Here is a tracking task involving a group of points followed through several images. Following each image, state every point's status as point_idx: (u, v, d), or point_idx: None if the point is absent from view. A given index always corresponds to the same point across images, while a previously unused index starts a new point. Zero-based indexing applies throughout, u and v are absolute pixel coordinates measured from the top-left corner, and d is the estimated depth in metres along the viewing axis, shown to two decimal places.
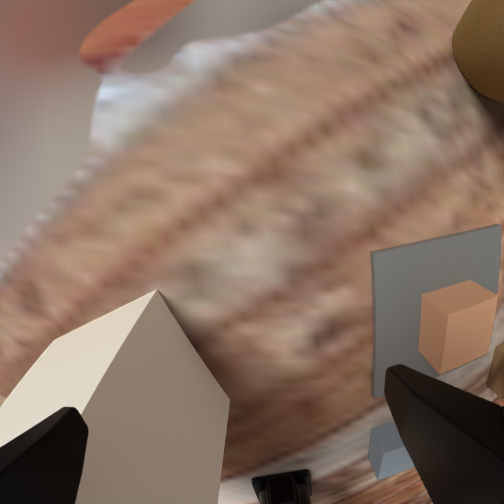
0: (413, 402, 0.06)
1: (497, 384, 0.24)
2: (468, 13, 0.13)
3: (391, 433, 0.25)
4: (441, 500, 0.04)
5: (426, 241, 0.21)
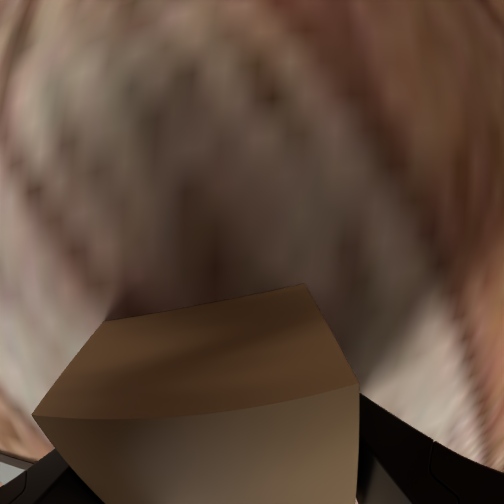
0: None
1: None
2: None
3: None
4: None
5: None
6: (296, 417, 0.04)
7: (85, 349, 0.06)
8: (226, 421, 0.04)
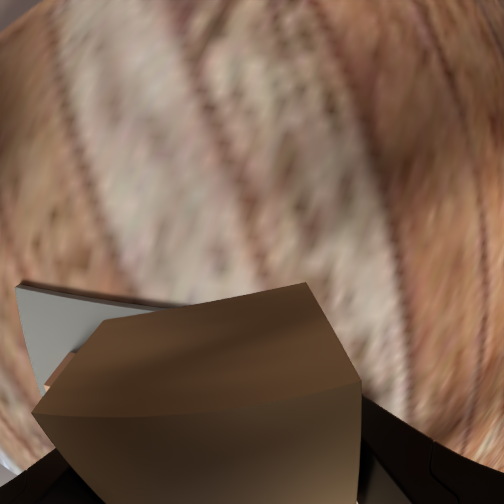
0: None
1: None
2: None
3: None
4: None
5: None
6: (298, 415, 0.04)
7: (85, 347, 0.06)
8: (228, 419, 0.04)
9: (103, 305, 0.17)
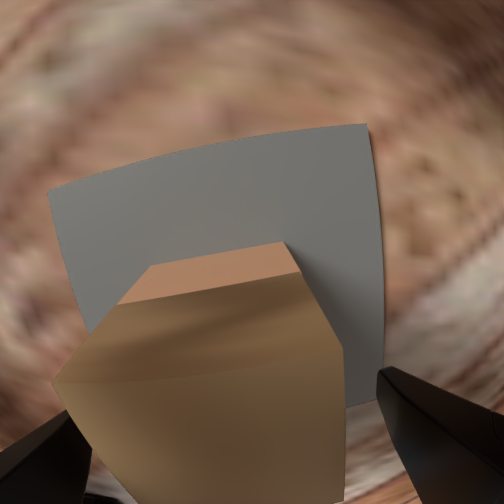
0: (403, 406, 0.06)
1: None
2: None
3: None
4: None
5: None
6: (289, 377, 0.05)
7: (99, 328, 0.07)
8: (229, 380, 0.05)
9: (382, 294, 0.13)
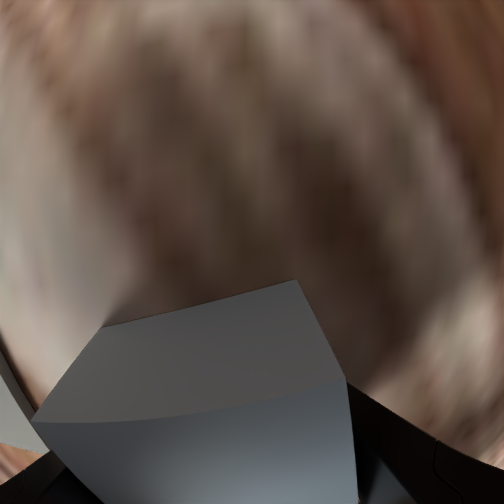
0: None
1: None
2: None
3: None
4: None
5: None
6: None
7: None
8: None
9: None
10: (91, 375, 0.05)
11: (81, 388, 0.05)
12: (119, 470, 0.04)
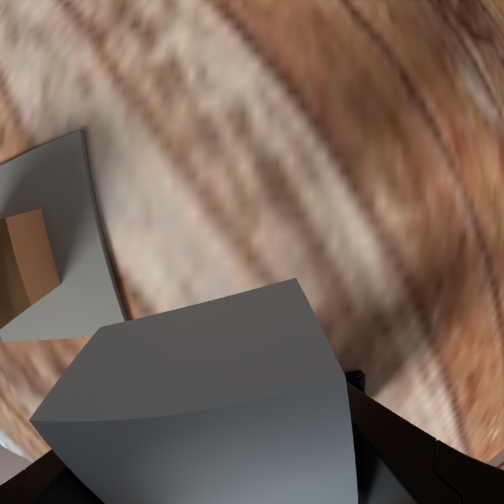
0: None
1: None
2: None
3: None
4: None
5: None
6: None
7: None
8: None
9: (11, 161, 0.17)
10: (91, 374, 0.05)
11: (81, 387, 0.05)
12: (118, 469, 0.04)
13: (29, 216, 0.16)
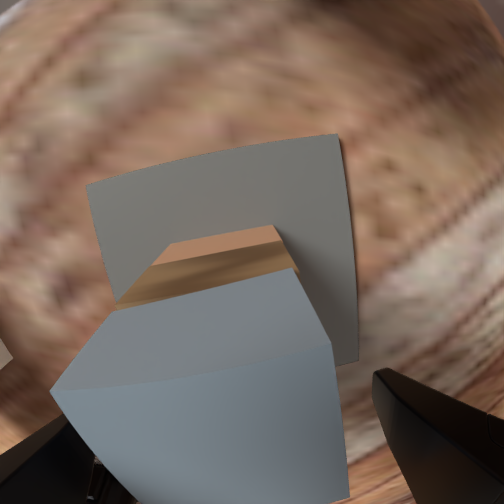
0: (398, 407, 0.06)
1: None
2: None
3: None
4: None
5: (166, 163, 0.16)
6: None
7: (142, 277, 0.11)
8: None
9: (353, 268, 0.17)
10: (107, 350, 0.06)
11: (98, 360, 0.06)
12: (130, 435, 0.05)
13: None
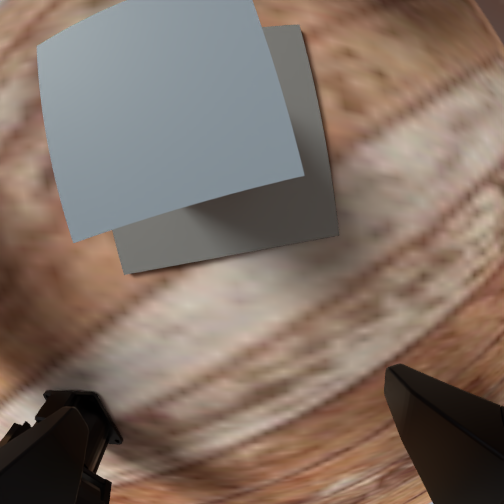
0: (413, 402, 0.06)
1: None
2: None
3: None
4: (441, 500, 0.04)
5: None
6: None
7: None
8: None
9: (322, 131, 0.17)
10: None
11: None
12: (83, 60, 0.05)
13: None
